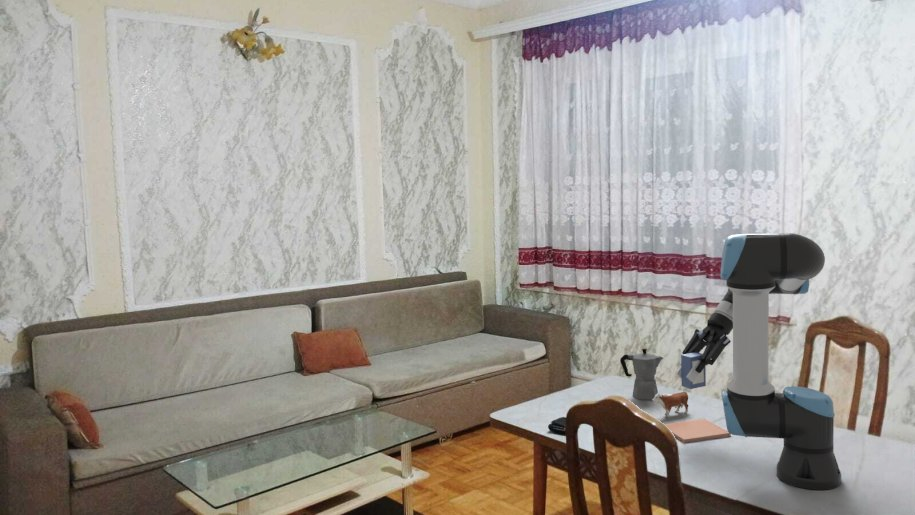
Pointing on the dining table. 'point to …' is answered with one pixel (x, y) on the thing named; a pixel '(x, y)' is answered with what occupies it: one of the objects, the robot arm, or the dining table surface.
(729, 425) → the robot arm
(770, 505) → the dining table surface
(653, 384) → the coffeepot
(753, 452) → the dining table surface
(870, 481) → the dining table surface
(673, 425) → the plate
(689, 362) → the block
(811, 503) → the dining table surface
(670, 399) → the bull figurine
